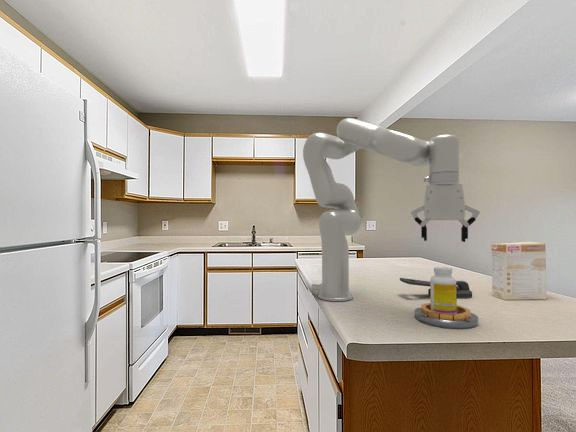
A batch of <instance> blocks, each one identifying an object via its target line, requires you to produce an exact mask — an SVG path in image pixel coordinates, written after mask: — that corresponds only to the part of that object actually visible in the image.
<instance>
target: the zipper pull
mask: <svg viewBox="0 0 576 432" xmlns="http://www.w3.org/2000/svg"><path fill="white" fill-rule="evenodd" d="M399 281H400V282H402V283H404V284H406V285H413V286H421V287H422V286H423V287H430V280H429V281H428V280H421V279H413V278H406V277H400V278H399ZM427 291H428V294H427V295H428V297H430V288H428V290H427ZM456 295H457V300H458V299H461V300H463V299H464V300H469V299H472V298H473V291H471V290H470V285H469V283H468V282H467V281H464V280H456Z"/></svg>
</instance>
